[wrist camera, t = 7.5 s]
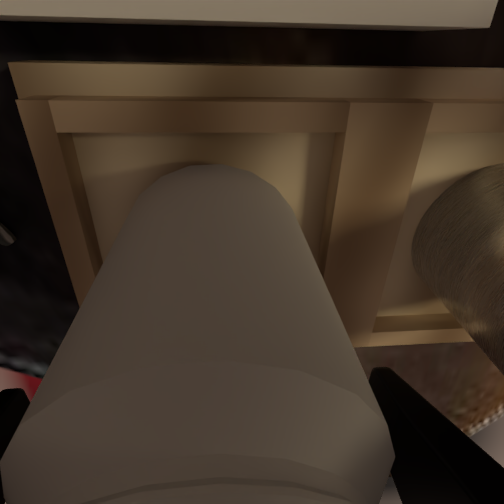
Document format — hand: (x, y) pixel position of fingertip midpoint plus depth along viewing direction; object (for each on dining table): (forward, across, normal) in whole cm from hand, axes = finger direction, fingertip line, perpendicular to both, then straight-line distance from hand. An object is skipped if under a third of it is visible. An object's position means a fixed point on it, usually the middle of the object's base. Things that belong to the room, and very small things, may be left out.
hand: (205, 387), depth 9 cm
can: (+8, 0, 0) cm, 8 cm away
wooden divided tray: (+9, -7, 0) cm, 11 cm away
